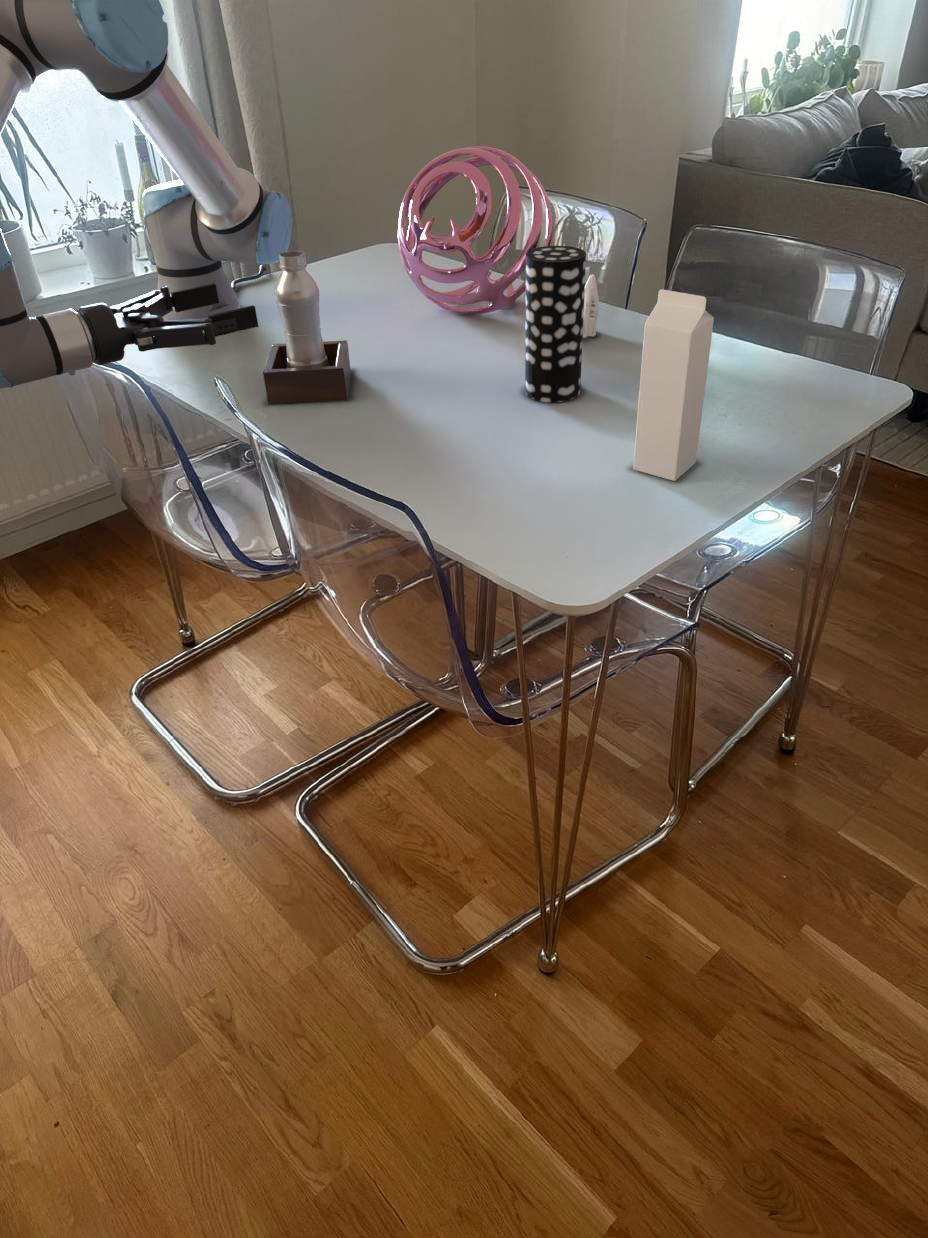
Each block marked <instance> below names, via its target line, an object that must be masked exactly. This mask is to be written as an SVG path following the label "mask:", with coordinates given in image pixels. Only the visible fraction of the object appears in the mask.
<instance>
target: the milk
mask: <svg viewBox="0 0 928 1238" xmlns="http://www.w3.org/2000/svg"><path fill="white" fill-rule="evenodd" d="M657 293H658V294H657V301H656V302H657V303H656V304H655V306H654V307H653V309H652V311H651V313H650V314H649V316H648V318H647V319H646V320H645V323H644V329H643V330H644V331H643V343H642V353H641V354H642V355H641V357H642V358H641V366H640V367H641V368H640V379H639V392H638V403H637V404H638V405H637V414H636V415H637V416H636V417H637V418H636V430H635V440H634V441H635V442H634V443H635V444H634V451H633V452H634V454H633V464H632V469H633V470H634V471H637V472H640V473H644V474H648V475H651V476H655V477H658V478H663V479H665V480H669V481H673V482H676V481H678V479H680V478H681V477H682V476H683V475H685V473H686V472H687V471H688V470H690V469H691V468H692V467H693V466H694V465H695V464H696V463H697V458H698V457H697V456H698V449H699V448H698V447H699V439H700V431H701V424H702V418H703V417H702V416H703V408H704V401H705V392H706V384H707V377H708V368H709V362H710V361H709V360H710V354H711V346H712V345H711V344H712V338H713V331H714V329H713V328H714V321H715V317H714V316H713V315H712V314H710V313H709V312H708V311H707V310H706V307H707V297H706V296H703V295H698V294H692V293H687V292H679V291H675V290H668V289H663V288H661V289H659V290H658V292H657Z"/></svg>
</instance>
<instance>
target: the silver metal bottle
mask: <svg viewBox="0 0 928 1238" xmlns="http://www.w3.org/2000/svg"><path fill="white" fill-rule="evenodd" d="M305 253H306V252H304V251H302V250H287V251H286V252H282V253H280V254H279V260H280V261H279V264H278V265H279V269H280V270H281V273H280V275H279V277H278V278H277V281H276V283H275V285H274V293H273V294H274V298H275V302H276V305H277V308H278V311H279V315H280V318H281V322H282V327H283V332H284V336H285V344H286V348H287V368H305V367H324V366H330V365H329V362H328V359H327V356H326V355H325V349H324V345H323V342H324V341H323V336H322V329H321V318H320V317H321V316H320V288H319V286H318V284H317V282H316V280H315V279H314V278H313V276H312V275H311V274H310V273H309V272H308V271H307V269H306V268H307V267H308V262H307V260H306V254H305Z"/></svg>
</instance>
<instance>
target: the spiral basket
mask: <svg viewBox="0 0 928 1238" xmlns="http://www.w3.org/2000/svg"><path fill="white" fill-rule="evenodd" d="M462 156H469V157H470V156H471V157H470V158H467V159H464V160H461V161H460V160H459V161H458V160H457V161H452V160H454V159H456V158H459V157H462ZM484 166H493V167H494V169H496V171H497V172H498V174H499V175H500V177H501V178H502V181H503V183H504V186H505V189H506V195H507V208H506V209H507V210H506V215H505V220H504V223H503V226H502V228H501V231H500V233H499V235H498V237H497V238H496V240H495V242H493V244H492V245H491V247H490V248H489V249H488V250H487V251H486V252H485V253H484V254H483V255H481V256H477V255H475V254H474V252H473V250H472V246H471V245H472V244H473V242H474V241H475V240H476V239H477V238H478V237H479V236H480V235H481V233H482V232H483V230H484V229H485V228H486V225H487V224H488V221H489V219H490V215H491V211H492V206H493V205H492V204H493V195H492V189H491V185H490V182H489V180H488V178H487V176H485V173H483V171H482V170H481V169H479V168H478V167H484ZM512 169H513V170H515V171H518V172H519V173H520V174H521V175H522V176H523V178H524V179H525V180H524V181H526V185H527V186H528V189H529V192H530V197H531V203H532V217H531V224H530V230H529V233H528V237H527V240H526V243H525V244H524V247H523V249H522V251H521V253H520V254H519V256H518V258H517V259H516V261H515V262H514V263H513V265H511V266H510V268H509V269H508V270H507V271H506V272H505V273H504V274H503V275H502V276H500V277H499V278H498V279H495V280H494V279H492V278H491V277H490V276H491V275H492V273H493V272H492V271H491V269H492V268H493V267H494V266H495V265H496V264H498V262H499V261H500V260H501V259H502V258H503V257H504V255H505V254H506V253H507V251H508V250H509V248H510V246H511V245H512V243H513V241H514V239H515V237H516V235H517V232H518V229H519V225H520V222H521V214H522V195H521V190H520V185H519V183H518V180H517V178H516V176H515V174H514V172H513V170H512ZM459 175H461V176H463V177H465V178H466V179H468V180H469V181H470V182H471V184H472V186H473V188H474V191H475V196H476V203H475V208H474V212H473V214H472V216H471V218H470V219H469V221H468V222H467V224H466V225H465V226H464V227H463V228H460V227H459V226H458V225H457V223H456V221H455V220H454V218H452V217H450V219H449V220H450V221H449V222H450V226H451V231H452V234H451V235H448V236H438V235H435V234H432V232H431V230H432V227H433V224H434V221H435V215H433V216H432V217H430V218H429V220H428V221H427V222H426V223H425V225H424V224H423V222H422V218H423V216H424V214H425V211H426V209H427V208H428V206H429V205H430V203H431V202H432V200H433V199H434V197H435V196H436V195H437V194H438V193H439V192H440V190H441V189H442V188H443V187H444V186H445V185H446V184H448V183H449V182H450V181H451V180H453V179H455V177H457V176H459ZM543 204H544V207H545V214H546V232H545V239H544V242H543V243H544V244H543V246H542V247H544V246H552V242H553V234H554V233H553V232H554V220H553V217H554V216H553V210H552V206H551V203H550V199H549V196H548V194H547V192H546V190H545V188H544V186H543V184H542V183H541V181H540V179H538V177H537V176H536V175H535V174H534V173H533V172H532V171H531V170H530V169H529V168H528V167H527V166H526V165H525V164H524V163H522V162H521V160H519V159H518V158H517V157H515V156H514V155H512V154H511V153H510V152H509V153H508V152H507V151H504V150H502V149H499V148H495V147H492V146H485V145H484V146H483V145H476V146H467V147H461V148H455V149H452V150H448V151H446V152H443V153H441V154H440V155H438V156H437V157H435V158H433V159H432V160H430V161H428V163H427V164H425V165H424V166H423V168H421V169H420V170H419V172H418V173H417V174H416V175H415V176H414V178H413V179H412V180H411V182H410V183H409V186H408V187H407V189H406V191H405V194H404V196H403V199H402V201H401V205H400V209H399V214H398V222H397V223H398V226H397V227H398V228H397V243H398V250H399V255H400V259H401V261H402V265H403V267H404V269H405V271H406V274H407V275H408V277H409V279H410V280H411V281H412V283H413V284H414V285H415V287H416V288H417V290H418V291H419V292H420V293H421V294H423V296H424V297H426V298H427V299H428V300H429V301H430V302H431V303H433V304H435V305H436V306H438V307H439V308H442V309H443V310H446V311H448V312H451V313H454V314H457V315H462V316H463V315H464V316H479V315H484V314H489V313H493V312H496V311H501V310H507V309H509V308H512V307H513V306H515V304H516V301H517V299H518V298H519V297H521V296H522V295H523V294H525V293H526V279H525V280H524V281H523V282H522V283H521V284H520V285H519V286H518V287H517V288H516V289H515V288H514V286H513V283H514V282H515V281H516V280H517V279H518V278H519V277H520V276H521V274H522V273H523V272H524V270H526V252H528V251H529V250H531V249H534V248H538V247H537V246H538V243H539V241H540V237H541V233H542V227H543V219H544V218H543V216H544V214H543ZM407 216H408V217H409V218H408V217H407ZM407 218H408V220H409V225H408V230H407V232H406V221H407ZM406 233H407V234H406ZM425 249H427V250H429V251H431V252H434V253H439V254H450V253H451V254H452V253H454V252H459V253H460V254H461V255H462V257H463V260H464V265H463V266H462V267H458V268H453V269H452V268H451V269H443V268H437V267H433V266H431V265H429V264H427V263H425V261H424V259H423V251H424V250H425ZM422 276H423V277H424V278H425V279H426V278H427V279H428V280H431V281H433V282H437V283H441V284H461V283H465V282H470V283H468V284H467V285H464V286H462V287H460V288H459V287H458V288H457V289H453V290H450V291H443V292H440V291H437V290H435V289H432V288H430V287H429V286H428V285H426V284H425V283H424V281H423V279H422ZM476 288H478V289H477V290H475V289H476ZM505 290H506V295H505V294H504V292H505ZM472 291H474V292H472ZM482 302H489V303H490V304H488V305H486V306H482V307H475V308H461V307H456V306H466V305H473V304H477V303H482ZM453 305H454V306H453ZM455 305H456V306H455Z"/></svg>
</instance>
